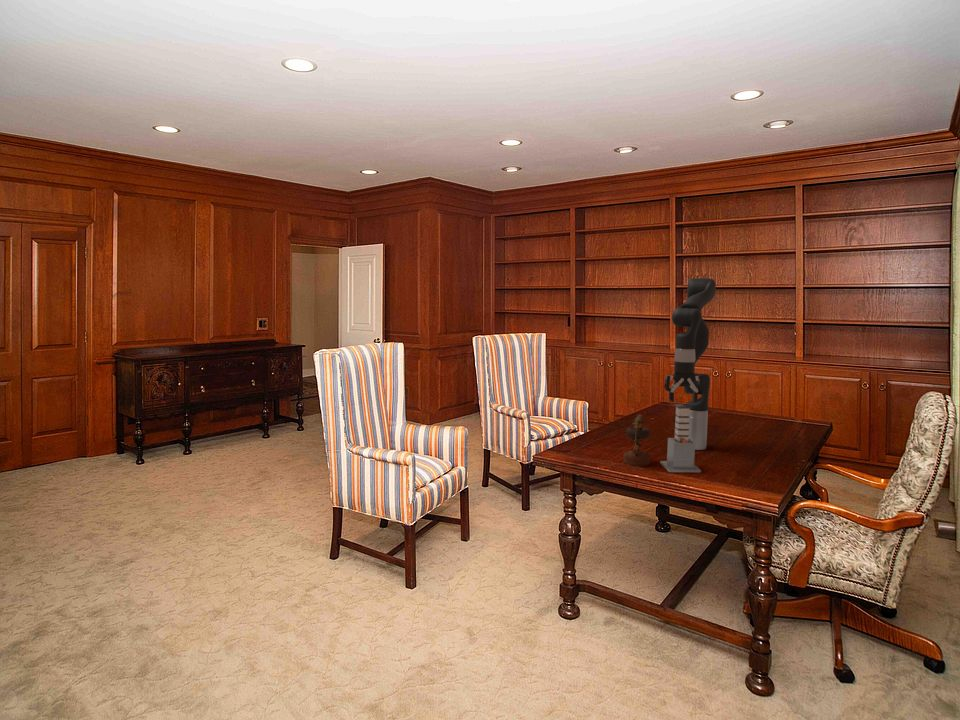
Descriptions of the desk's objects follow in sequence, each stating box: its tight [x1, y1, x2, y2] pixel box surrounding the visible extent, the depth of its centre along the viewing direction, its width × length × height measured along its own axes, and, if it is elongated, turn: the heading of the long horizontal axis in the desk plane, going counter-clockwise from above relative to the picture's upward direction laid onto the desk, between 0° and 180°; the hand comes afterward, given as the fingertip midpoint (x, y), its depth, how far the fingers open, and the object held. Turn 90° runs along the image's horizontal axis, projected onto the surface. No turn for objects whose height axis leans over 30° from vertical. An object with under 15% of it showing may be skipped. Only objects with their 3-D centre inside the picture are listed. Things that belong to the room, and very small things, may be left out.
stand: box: [660, 437, 702, 474], centre depth 233 cm, size 12×12×12 cm
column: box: [673, 403, 692, 442], centre depth 232 cm, size 5×5×19 cm
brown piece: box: [623, 414, 651, 467], centre depth 241 cm, size 15×11×20 cm
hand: (682, 401), depth 230 cm, fingers open, 8 cm apart
